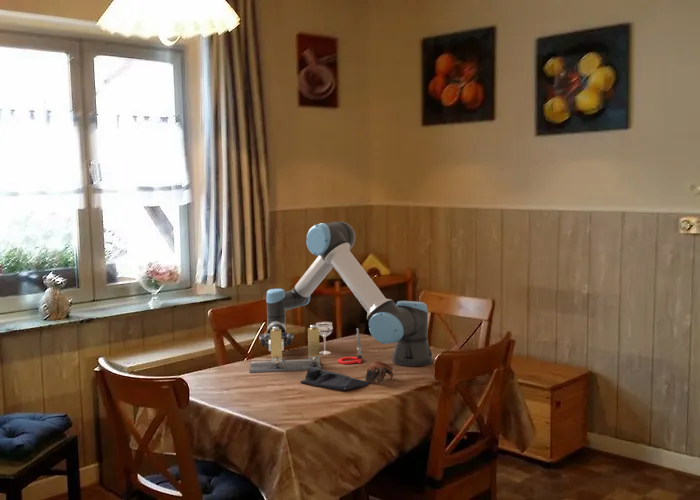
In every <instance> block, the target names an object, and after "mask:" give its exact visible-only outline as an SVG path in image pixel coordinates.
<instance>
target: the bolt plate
mask: <svg viewBox="0 0 700 500" xmlns="http://www.w3.org/2000/svg"><path fill="white" fill-rule="evenodd" d="M307 342H308V343H307V345H308V350H307V351H308V358H300V359H297V358H296V359H295V358H294V359H282V362H278V365H275V362H273V363H271V360H255V361H254V360H253V361H250V362H249V363H250V364H249V373H272V372H275V373H276V372H295V371H297V372H298V371H307V369H308V368H316V369H321V363H320V361H321V359H320V358H321V356H320V355H321V354H320V352H321V351H320V335H319V328H317V325H316V324H310V326H309V327H308V328H307Z"/></svg>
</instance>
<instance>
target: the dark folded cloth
mask: <svg viewBox="0 0 700 500" xmlns="http://www.w3.org/2000/svg"><path fill="white" fill-rule="evenodd" d="M300 383H301V384H303V385H304V384H306V385H309V386H312V387H313V386H314V387H318V388H326V389H329V390H330V389H331V390H336V391H344V392H345V391H349V390H352V389H357V388H361V387H367V386H368V385H370V383H369V382H367V381H365V379H364V380H363V379H358V378H354V377H352V376H349V375H345V374H342V373H339V372H335V371H331V370H324V369H322V368H320V369H316V368H308V369H307V370H306V376H305V378H304V379H303V380H301V381H300Z"/></svg>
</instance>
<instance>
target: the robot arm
mask: <svg viewBox="0 0 700 500" xmlns="http://www.w3.org/2000/svg"><path fill="white" fill-rule="evenodd" d="M355 241H356V232H355V230H354V228H353V227H352V225H351V224H349V223H348V222H344V221H342V220H341V221H338V220H337V221H332V222H326V223H325V222H324V223H323V222H321V223H318V224H314V225H313V226H311V227H310V228H309V230H308V232H307V233H306V241H305V242H306V247H307V249H308V251H309V253H311V254H312V255H314V256H317V257H316V258H315V260H314V261H313V262H312V263H311V265H309V268H307V270H306V271H305V272H304V274H303V275H302V276H301V277H300V279H299V280H298V282H297V283H296V284H295V285H294V287H293V288H292V289H291V290H287V291H285V289H284V288H271V289H268V290H267V291H266V299H265V301H266V319H267V321H266V322H267V323H266V327H267V330H266V333H265V334H263V333H259V334H258V337H259V339H258V341H259V342H260V346H261V347H265V348H266V349H268V352H271V335H270V329H273V328H272V327H274V326H278V327H279V329H281V338H282V351H284V350H285V349H284V348H285V347H288V346H292V344H293V343H292V341H293V340H294V332H290V333H287V323H286V313H287V312H286V311H289V310H293V309H296V308H302V307H304V306H306V305H308V304H309V303H310V301H311V297H312V296H311V295H312V294H313V293H314V291H315V290H316V289H317V287H318V286H319V285H320V284H321V283H322V281H323V280H324V279H325V278H326V277H327V275H328V274H329V273H330V272H331V270H332V269H333V268H334V270H335V271H336V272H337V274H338V276H340V278H341V279H342V280H343V282H344V283H345V284H346V285H347V288H349V289H350V291H351V292H352V294H353V295H354V296H355V298H356V299H357V300H358V302H359V303H360V305H361V306H362V308H364V310H365V311H366V313H367V315H366V320H367V321H368V329H369V332H370V335H371V336H372V338H373V339H374V340H375V341H376V342H378V343H380V344H385V345H387V344H395V346H394V347H395V348H394V350H393V353H392V363H393V364H395V365H399V366H403V367H421V366H422V367H423V366H427V365H430V364H432V363H433V354H432V350H431V348H430V345H429V339H428V334H429V333H428V326H429V325H428V323H429V322H428V319H429V318H428V314H429V312H428V306H427V304H426V303H425V302H423V301H415V300H414V301H412V300H398V301H396V303H395V301H394V300H393V299H390V298H386V297H385V295H384V294H383V293H382V291H381V289H380V288H379V287H378V286H377V285H376V283H375V282H374V280H373V279H372V278H371V277H370V276H369V274H368V273H367V271H366V270H365V269H364V268H363V266H362V265H361V264H360V262H359V261H358V260H357V258H356V257H355V256H354V255H353V253H352V252H351V249H352V248H353V247H354V245H355Z"/></svg>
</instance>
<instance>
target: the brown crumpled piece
mask: <svg viewBox="0 0 700 500" xmlns="http://www.w3.org/2000/svg"><path fill="white" fill-rule="evenodd" d="M393 369H394V368H393V367H392V366H391V365H389V364H387V363H386V362H383V361H380V360H378V359H374V360H373V362H372V363H370V364H369V365H368V367H367V370H366V373H365V376H364V381H366V382H368V383H369V384H372V385H375V384H376V382H377V383H383V382H384V380H385V376H386V375H389V377H390V381H392V380H393V378H394V372H393Z"/></svg>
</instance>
